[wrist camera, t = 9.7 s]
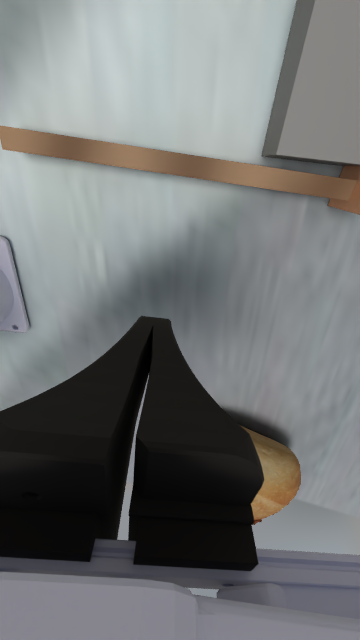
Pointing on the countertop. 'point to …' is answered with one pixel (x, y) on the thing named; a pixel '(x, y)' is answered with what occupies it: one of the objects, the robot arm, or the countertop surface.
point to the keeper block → (319, 87)
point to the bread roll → (274, 476)
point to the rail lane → (189, 165)
